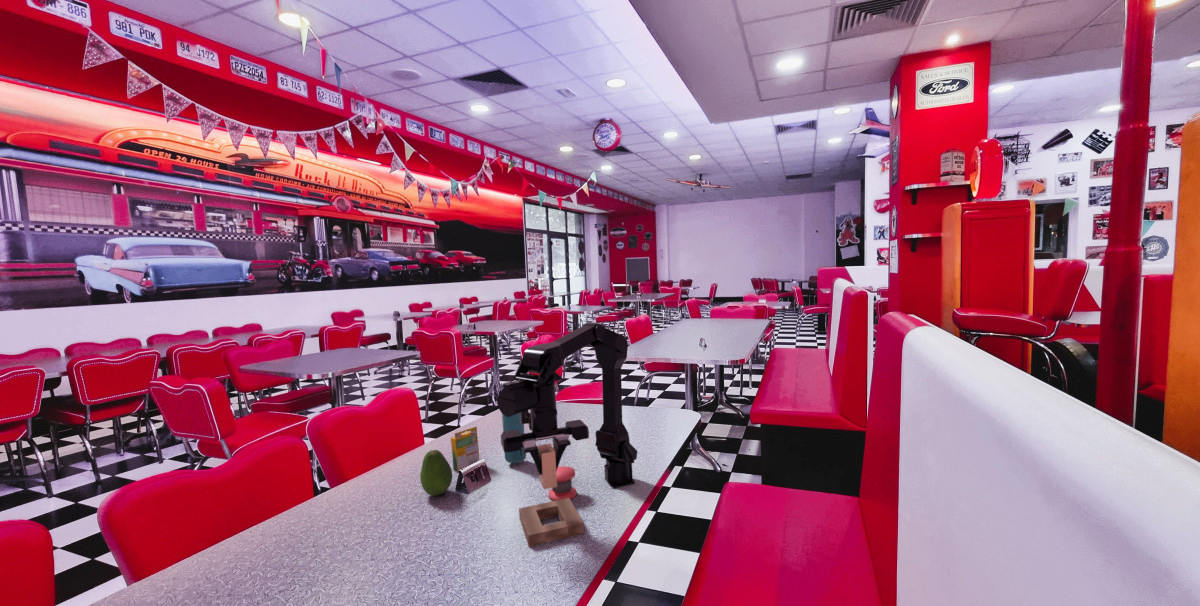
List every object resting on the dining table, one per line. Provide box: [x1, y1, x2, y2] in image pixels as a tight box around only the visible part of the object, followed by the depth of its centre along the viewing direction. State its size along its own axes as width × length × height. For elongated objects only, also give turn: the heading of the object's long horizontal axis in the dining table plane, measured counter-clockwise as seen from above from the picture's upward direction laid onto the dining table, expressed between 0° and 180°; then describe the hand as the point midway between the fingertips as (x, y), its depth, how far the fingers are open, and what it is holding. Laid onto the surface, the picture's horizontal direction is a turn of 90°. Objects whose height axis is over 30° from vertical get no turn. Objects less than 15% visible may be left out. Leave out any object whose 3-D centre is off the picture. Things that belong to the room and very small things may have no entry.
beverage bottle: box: [501, 413, 527, 464], centre depth 141 cm, size 6×7×20 cm
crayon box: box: [450, 426, 480, 473], centre depth 141 cm, size 7×3×12 cm, turn 134°
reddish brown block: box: [536, 443, 557, 490], centre depth 105 cm, size 3×5×8 cm, turn 19°
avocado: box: [419, 449, 453, 497], centre depth 124 cm, size 8×8×12 cm
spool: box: [547, 465, 577, 502], centre depth 120 cm, size 7×7×6 cm
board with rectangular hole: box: [518, 498, 585, 548], centre depth 106 cm, size 12×12×2 cm
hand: (547, 472), depth 105 cm, fingers closed on reddish brown block, 3 cm apart
